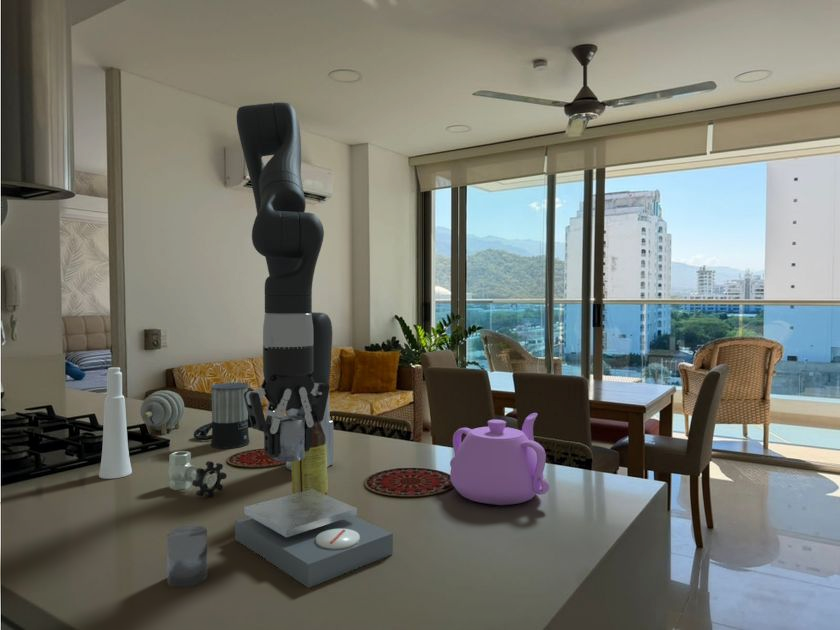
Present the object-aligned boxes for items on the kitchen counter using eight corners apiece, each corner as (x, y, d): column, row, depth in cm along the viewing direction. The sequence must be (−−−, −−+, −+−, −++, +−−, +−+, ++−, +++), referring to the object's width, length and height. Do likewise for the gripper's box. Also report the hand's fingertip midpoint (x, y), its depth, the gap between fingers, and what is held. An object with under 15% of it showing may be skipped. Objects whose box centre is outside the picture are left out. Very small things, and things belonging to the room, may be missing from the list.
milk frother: (242, 449, 139) (242, 388, 139) (177, 449, 140) (176, 387, 139) (259, 435, 154) (259, 379, 153) (200, 435, 154) (200, 379, 154)
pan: (312, 494, 96) (312, 488, 96) (356, 514, 87) (356, 508, 87) (244, 513, 87) (244, 506, 87) (286, 537, 79) (286, 530, 79)
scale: (313, 515, 97) (313, 494, 97) (392, 554, 83) (392, 529, 83) (235, 539, 88) (234, 516, 87) (308, 587, 73) (308, 559, 73)
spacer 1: (198, 566, 79) (197, 522, 79) (213, 578, 76) (213, 533, 75) (161, 578, 76) (161, 532, 76) (176, 591, 72) (175, 543, 72)
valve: (158, 489, 110) (195, 503, 103) (157, 455, 110) (195, 466, 103) (189, 481, 116) (227, 492, 109) (189, 448, 116) (226, 457, 109)
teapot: (584, 490, 110) (585, 418, 110) (520, 523, 95) (521, 438, 94) (490, 467, 125) (490, 403, 125) (421, 492, 110) (421, 419, 109)
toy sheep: (193, 424, 166) (192, 386, 166) (169, 439, 149) (168, 396, 149) (155, 424, 166) (155, 386, 166) (127, 439, 149) (127, 396, 149)
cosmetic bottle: (128, 477, 117) (127, 369, 117) (95, 480, 116) (94, 370, 115) (134, 469, 123) (133, 365, 123) (102, 471, 121) (101, 366, 121)
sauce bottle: (334, 498, 106) (333, 389, 105) (317, 510, 100) (316, 395, 99) (302, 494, 108) (302, 387, 107) (283, 506, 102) (283, 393, 101)
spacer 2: (294, 451, 93) (294, 414, 92) (310, 457, 89) (310, 418, 89) (266, 457, 89) (266, 418, 89) (283, 463, 86) (283, 423, 86)
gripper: (314, 339, 96) (314, 441, 97) (232, 343, 86) (233, 457, 87) (341, 342, 91) (341, 450, 91) (257, 347, 81) (257, 468, 82)
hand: (288, 453), depth 89 cm, fingers closed on spacer 2, 4 cm apart
